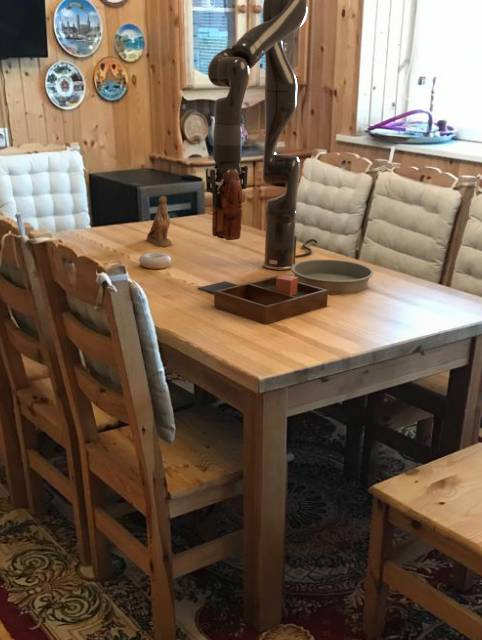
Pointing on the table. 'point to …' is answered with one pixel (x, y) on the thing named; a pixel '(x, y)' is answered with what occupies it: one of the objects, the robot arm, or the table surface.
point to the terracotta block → (287, 284)
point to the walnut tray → (269, 300)
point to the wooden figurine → (228, 208)
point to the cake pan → (333, 275)
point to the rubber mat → (216, 287)
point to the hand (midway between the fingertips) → (226, 207)
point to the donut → (155, 260)
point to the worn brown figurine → (160, 224)
